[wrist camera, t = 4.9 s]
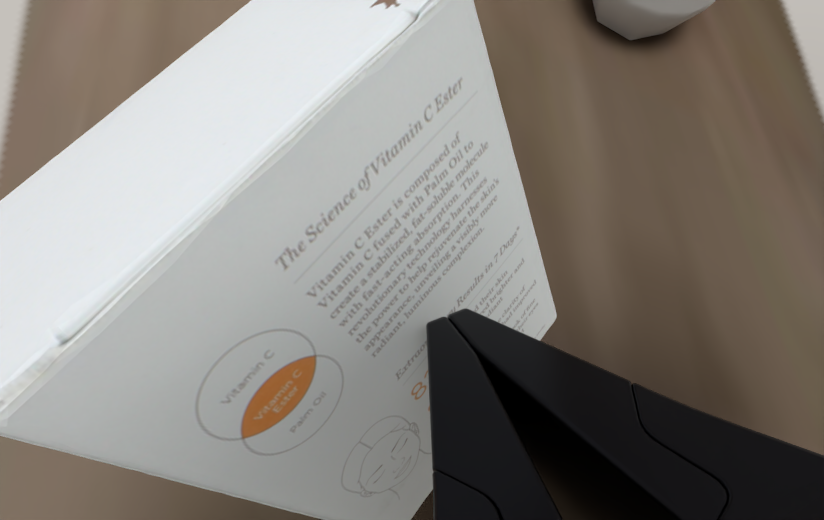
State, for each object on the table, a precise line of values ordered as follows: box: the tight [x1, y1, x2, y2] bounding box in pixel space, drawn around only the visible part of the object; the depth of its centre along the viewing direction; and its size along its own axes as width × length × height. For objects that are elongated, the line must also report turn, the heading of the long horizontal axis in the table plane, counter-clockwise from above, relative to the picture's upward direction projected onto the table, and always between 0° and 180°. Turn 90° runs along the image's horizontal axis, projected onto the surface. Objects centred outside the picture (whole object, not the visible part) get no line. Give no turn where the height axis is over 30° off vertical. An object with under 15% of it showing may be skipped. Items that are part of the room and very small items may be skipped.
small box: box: [0, 0, 557, 520], centre depth 11 cm, size 8×6×10 cm
